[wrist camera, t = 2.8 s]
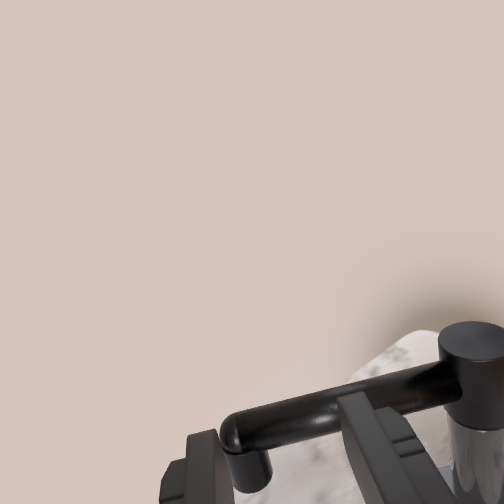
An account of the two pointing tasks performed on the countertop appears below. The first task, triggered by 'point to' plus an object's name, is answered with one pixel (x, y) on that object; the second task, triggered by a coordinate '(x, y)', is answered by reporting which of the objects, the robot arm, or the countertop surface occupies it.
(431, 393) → the spout
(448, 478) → the faucet base
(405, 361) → the countertop surface
